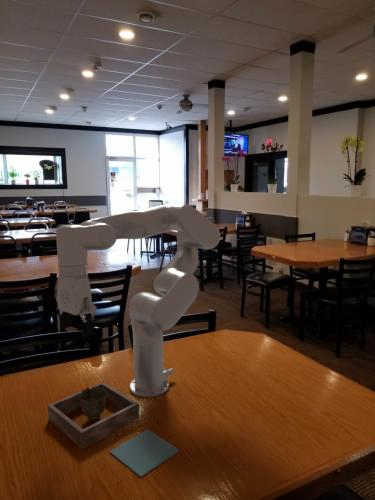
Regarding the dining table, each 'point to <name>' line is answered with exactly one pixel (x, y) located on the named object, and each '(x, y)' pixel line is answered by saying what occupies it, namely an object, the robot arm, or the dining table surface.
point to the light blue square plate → (144, 452)
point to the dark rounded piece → (93, 403)
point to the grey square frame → (99, 428)
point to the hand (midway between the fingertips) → (77, 331)
